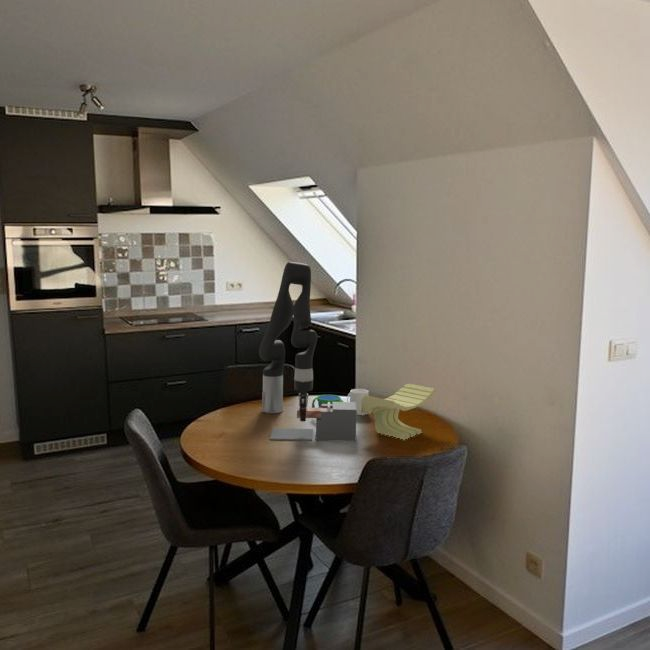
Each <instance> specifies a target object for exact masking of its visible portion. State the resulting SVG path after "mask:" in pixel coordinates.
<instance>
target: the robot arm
mask: <svg viewBox="0 0 650 650" xmlns="http://www.w3.org/2000/svg"><path fill="white" fill-rule="evenodd" d="M311 282H312V271H311V267H310V265H309V264H307V263H302V262H294V261H287V263H286V264H285V267H284V269H283V273H282V277H281V282H280V285H279V286H280V287H279V289H278V293H277V297H276V300H275V303H274V304H273V305H274V306H273V307H272V311H271V315H270V319H269V322H268V326H267V328H266V330H265V334H264V336H263V337H262V340H261V342H260V345H259V351H258V354H259V358H260V360H262V361H264V362H271V363H270V364H269V365H267V366H265V367H264V368H263V370H262V393H261V395H262V396H261V397H262V398H261V401H262V402H261V403H262V407H261V410H262V411H261V412H262V413H266V414H279V413H281V412H283V410H284V408H283V406H284V405H283V404H284V402H283V401H284V397H283V396H284V395H283V394H284V388H283V387H284V370H285V359H286V349H285V344H284V342H283V341H282V340H280V339H277V338H278V337H279V336H280V335H281V334H282V333H283V332H284V331H285V330H286V329H288V327H289V326H290V324H291V322H292V320H293V329H292V332H291V333H292V334H291V337H290V343H291V345H292V346H293V347H294V348H306V350H305V351H302V352H298V353H297V354H295V357H294V358H295V359H294V360H295V363H294V365H295V366H294V384H293V385H294V386H293V387H294V391H296V392H300V393H298V397H297V398H298V406H299V408H300V418H299V421H300V422H306V420H307V418H306V408H308V405H309V403H308V401H309V393H308V392H311V391H313V388H314V370H313V365H314V363H313V361H314V360H313V359H314V354H315V350H316V346H317V343H318V334H317V332H316V331H315V330H313V329H306V328H309V327H310V326H311V324H312V317H311V316H312V315H311V306H310V305H311V303H310V302H311V285H312V283H311ZM291 285H300V286H301V292H300V294H299V296H298V297H297V299H296V300H295V302H294V301H293V299H292V297H291V293H290V286H291ZM301 408H305V409H301Z"/></svg>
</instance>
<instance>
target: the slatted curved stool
mask: <svg viewBox="0 0 650 650" xmlns="http://www.w3.org/2000/svg"><path fill="white" fill-rule="evenodd" d="M435 392H436V391H435V388H433V387H429V386H428V387H427V386H423V385H419V384H413V383H407V384H404V385H403V386H402V387H401V388H400V389H398V391H396V392H395V393H394V394H393V395H390V396H388V397H386V398H380V397H376V396H373V395H369V396H364V397H363V399H362V401H361V412H363V413H367V414H366V415H370V414H372V413H373V417H374V426H375V431H376V432H377V433H378V434H379V433H381V434H380V435H382V434H385V435H384V436H386V435H389V436H388V437H390V436H393V437H396V438H395V439H397V438H400V439H399V440H401V439H403V440H402V441H406V440H405V439H407V440H409V439H411V438H410V437H412V438H414V437H416V436H417V435H416V434H419V435H421V434H420V433H422V434H423V432H422V429H421V428H416V427H413V426H410V425H407V424H405V423H403V422H402V421H401V420H400V419H399V413H400V411H402V412H403V411H404V412H406V411H409V410H413V409H415V408H417V407H418V408H419V407H421V406H424V403H427V402H428V400H429V399H431V397H433V396H435ZM415 435H416V436H415ZM413 436H414V437H413ZM393 437H392V438H393ZM408 438H409V439H408Z"/></svg>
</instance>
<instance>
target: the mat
mask: <svg viewBox="0 0 650 650" xmlns="http://www.w3.org/2000/svg"><path fill="white" fill-rule="evenodd" d="M270 433H271V434H270V435H269V436H270V437H269V441H293V442H294V441H296V442H297V441H299V442H301V441H303V442H304V441H305V442H307V441H308V442H312V441H313V436H314V429H313V428H285V427H284V428H279V427H278V428H276V427H275V428H274V427H272V428H271V432H270Z"/></svg>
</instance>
